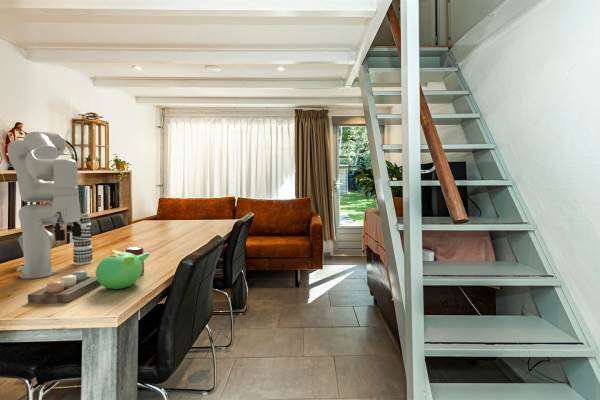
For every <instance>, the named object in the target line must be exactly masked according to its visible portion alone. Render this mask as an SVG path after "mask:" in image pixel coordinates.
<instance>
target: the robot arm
mask: <svg viewBox="0 0 600 400" xmlns="http://www.w3.org/2000/svg"><path fill="white" fill-rule="evenodd" d="M24 135H25V136H24V137H23V140H22V139H19V140H17V139H16V140H12V141H10V142H9V143H8V145H7V156H8V159H9V162H10V164H11V166H12V167H13V169H14V172H15V173H16V178H17V179H16V180H17V186H18V192H19V196H20V199H21V200H22V201H23V202H25V203H32V204H27V205H23V206H21V207H20V209H19V211H18V218H19V223H20V227H21V235H23V250H22V252H23V251H24V252H23V265H19V266H18V267H17V268H16V271H17V272H21V274H20V275H19V277H20V279H23V280H32V279H42V278H46V277H50V276H53V275H55V274H56V269H52V258H51V257H52V255H51V251H50V236H49V233H48V232H47V231H48V230H47V229H46V228H45V226H50V225H51V226H52V228H53V231H54V241H56V242H60V241H61V242H64V241H65V240H66V230H65V229H64V228H65V226H66V225H67V224H68V225H69V224H71V225H73V226H71V227H72V229H71V230H72V232H71V236H72V237H73V236H81V225H82V223H81V222H82V218H83V214H84V213H82V212H81V203H80V198H79V197H80V196H79V195H80V194H79V178H78V177H79V175H78V173H79V172H78V162H77V161H76V160H74V159H65V158H64V159H63V158H61V159H60V158H59V157H60V156H61V155H62V154H63V153H64V152H66V148H67V141H66V138H65V137H64V136H63V135H62V134H60V133H57V132H46V131H30V132H28V133H26V134H24ZM58 158H59V159H58ZM45 202H50V203H45ZM33 203H37V204H33ZM42 226H44V228H45V229H46V230H47V231H46V230H45V229H44V228H43V227H42ZM41 277H42V278H41Z"/></svg>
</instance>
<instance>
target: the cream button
mask: <svg viewBox="0 0 600 400" xmlns="http://www.w3.org/2000/svg"><path fill="white" fill-rule="evenodd" d="M59 280H62V281H64V287H73V286H75V285H77V284H76V275H72V274H68V275H64V276H60V279H59Z"/></svg>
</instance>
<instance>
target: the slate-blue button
mask: <svg viewBox="0 0 600 400" xmlns="http://www.w3.org/2000/svg"><path fill="white" fill-rule="evenodd" d="M71 275H76V282H83V281H85V280H87V276H88V270H86V269H82V270H80V269H79V270H76V271H73V272H72V273H71Z"/></svg>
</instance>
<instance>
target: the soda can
mask: <svg viewBox="0 0 600 400" xmlns="http://www.w3.org/2000/svg"><path fill="white" fill-rule="evenodd" d="M144 250H145V249H144V247H142V246H132V247H131V246H130V247H127V248H126V249H125V251H124V252H128V253H132V254H134V255H136V256H138V255H141V254H144V253H145V252H144ZM144 274H145V260H144V261H143V262H142V273H141V275H140V276H142V275H144Z"/></svg>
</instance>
